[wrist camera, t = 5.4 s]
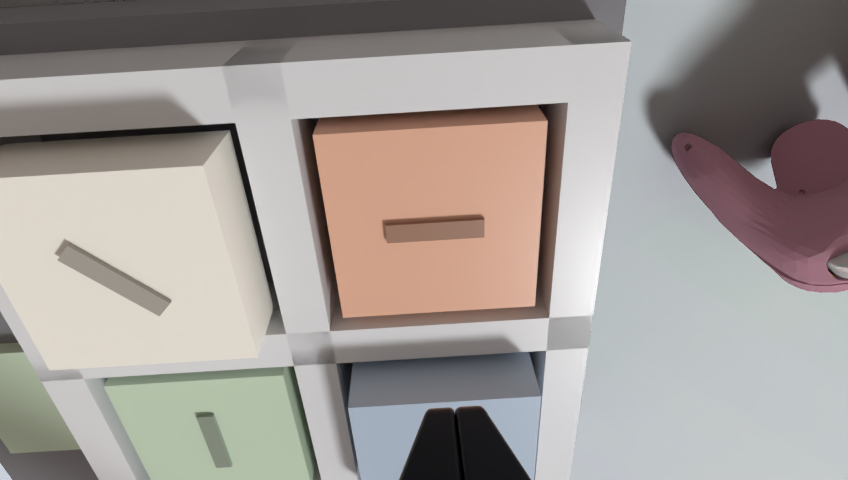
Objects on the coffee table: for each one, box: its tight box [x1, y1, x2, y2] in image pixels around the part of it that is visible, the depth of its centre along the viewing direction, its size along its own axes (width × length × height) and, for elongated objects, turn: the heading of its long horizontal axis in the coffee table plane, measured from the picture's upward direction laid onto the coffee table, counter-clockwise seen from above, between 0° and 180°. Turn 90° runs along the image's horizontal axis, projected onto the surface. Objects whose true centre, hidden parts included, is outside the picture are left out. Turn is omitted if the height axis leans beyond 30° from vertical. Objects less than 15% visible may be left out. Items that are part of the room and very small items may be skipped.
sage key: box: [104, 366, 316, 480], centre depth 18 cm, size 5×5×2 cm
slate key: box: [348, 352, 541, 480], centre depth 17 cm, size 5×5×2 cm
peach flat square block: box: [313, 104, 548, 318], centre depth 14 cm, size 5×5×2 cm
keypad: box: [0, 0, 632, 480], centre depth 18 cm, size 17×22×6 cm
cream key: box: [0, 130, 274, 371], centre depth 13 cm, size 5×5×2 cm
